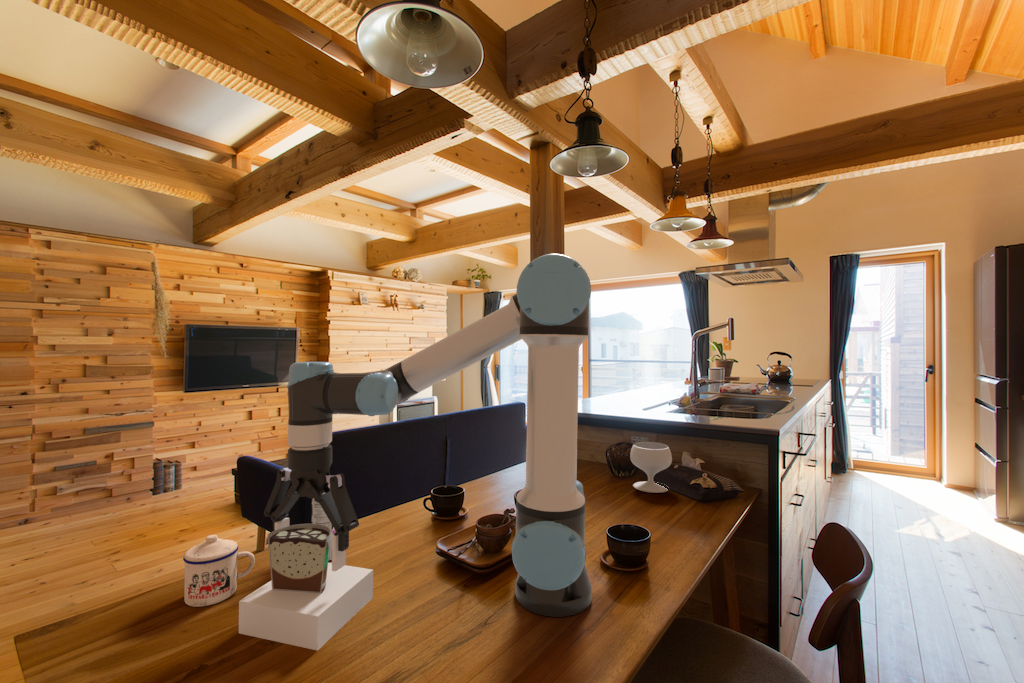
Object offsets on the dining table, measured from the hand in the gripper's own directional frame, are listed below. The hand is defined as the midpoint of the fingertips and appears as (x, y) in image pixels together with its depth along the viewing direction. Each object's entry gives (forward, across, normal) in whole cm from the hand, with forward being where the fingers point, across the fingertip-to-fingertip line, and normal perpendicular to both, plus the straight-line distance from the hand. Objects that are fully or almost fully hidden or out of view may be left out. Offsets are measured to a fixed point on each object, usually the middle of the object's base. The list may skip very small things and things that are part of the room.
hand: (309, 561), depth 83 cm
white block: (+10, 0, 0) cm, 10 cm away
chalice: (+10, -53, -101) cm, 114 cm away
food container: (+4, +1, 0) cm, 5 cm away
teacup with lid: (+10, +22, +1) cm, 24 cm away
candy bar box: (+10, +16, -21) cm, 28 cm away
